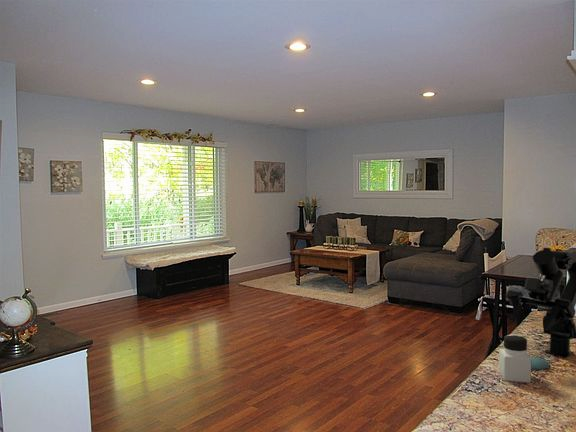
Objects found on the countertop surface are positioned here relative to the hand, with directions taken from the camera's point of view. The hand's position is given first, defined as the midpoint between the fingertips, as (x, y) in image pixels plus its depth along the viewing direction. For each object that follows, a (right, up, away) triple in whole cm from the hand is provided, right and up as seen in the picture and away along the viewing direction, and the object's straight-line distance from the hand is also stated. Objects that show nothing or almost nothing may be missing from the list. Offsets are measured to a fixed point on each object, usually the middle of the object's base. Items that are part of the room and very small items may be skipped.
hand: (528, 326), depth 144 cm
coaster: (+4, -13, +7) cm, 15 cm away
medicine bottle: (-6, -14, -3) cm, 16 cm away
